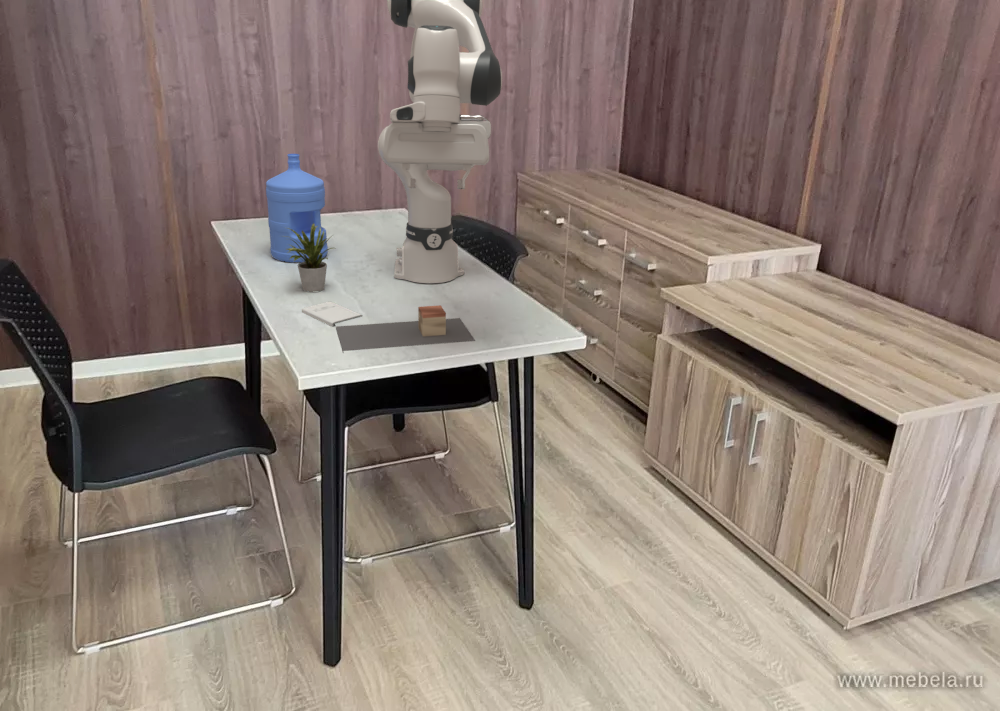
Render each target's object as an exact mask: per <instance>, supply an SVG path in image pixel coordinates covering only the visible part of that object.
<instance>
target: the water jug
mask: <svg viewBox="0 0 1000 711" xmlns="http://www.w3.org/2000/svg"><path fill="white" fill-rule="evenodd" d="M300 163H301V161H300V154H299V153H288V154H287V166H288V167H287V170H285V171H283V172H281V173H279V174H277V175H275V176H273V177H271V178H269V179H268V180H267V181H266V182H265V186H266V188H265V196H266V199H267V200H266V202H267V214H268V216H267V217H268V218H267V221H268V222H267V223H268V229H269V240H270V247H269V249H270V255H271V256H272V258H274V259H275V260H277V261H279V262H284V261H285V263H294V262H300V263H302V262H304V261H305V260H304V259H303V258H301V257H300V258H301V259H300V258H299V259H297V260H295V261H294V258H295V257H294V258H291V259H290V257H291V256H293V255H295V254H296V255H297V256H299V254H298V253H297V252H296V251H290V250H287V249H289V248H293V247H292V246H294V247H295V248H298V249H300V248H301V249H304V248H303V247H304V246H303V245H302V243H301V241H300V240H299V239H298V237H297V236H296V234H295V233H294V232H293V231H292V230H294V231H295V232H296V233H298V234H299V235H300V236H301V237H302V239H303V240H304V238H303V235H302V231H303V232H304V233H305V234H306V236H307V237H308V239H309V241H310V232H311V227H312V224H313V223H314V224H315V227H316V226H317V227H316V229H315V234H314V244H315V245H316V242H317V238H318V233H319V230H320V227H321V235H322V233H323V231H324V236H323V240H324V239H326V240H325V242H326V241H327V240H328V239H327V230H326V228H324V227H323V226H322V222H321V221H322V218H321V216H322V215H321V210H322V209H323V208H324V207H325V206H326V200H325V199H326V198H325V196H326V189H325V188H326V187H325V182H324V180H323V179H322V178H319V177H317V176H315V175H313V174H311V173H308V172H306V171H304V170H302V169H301V166H300ZM284 227H285V228H284ZM288 228H289V229H288ZM290 229H292V230H290ZM321 235H320V238H321ZM285 236H288V237H285ZM300 236H299V237H300ZM290 237H291V238H290ZM290 239H291V240H290ZM292 240H293V241H292ZM296 240H297V241H298V242H299V243H298V242H297V241H296ZM323 240H322V241H323ZM294 241H295V242H296V243H297V244H298V245H299V246H300V248H299V247H298V245H297V244H296V243H295V242H294ZM319 241H320V239H319ZM325 242H324V243H325ZM327 242H328V241H327ZM327 242H326V243H325V245H324V244H323V245H324V246H323V248H322V250H321V252H320V253H323V252H324V251H326V250H327V249H329V248H328V247H329V246H328V243H327ZM318 244H319V243H318ZM290 245H292V246H290ZM302 246H303V247H302ZM304 250H305V249H304ZM289 251H290V252H289ZM328 252H329V250H327V251H326V252H324V253H323V255H322V258H326V256H327V255H328ZM299 253H300V252H299ZM300 254H301V253H300ZM303 254H304V253H303ZM303 254H301V255H302V256H304V255H303ZM305 255H306V254H305ZM306 256H307V255H306ZM318 257H319V256H318ZM304 258H305V257H304ZM307 258H309V257H308V256H307ZM303 260H304V261H303ZM317 260H318V259H317Z"/></svg>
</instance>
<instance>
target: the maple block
mask: <svg viewBox="0 0 1000 711" xmlns="http://www.w3.org/2000/svg"><path fill="white" fill-rule="evenodd" d="M417 308H418V315H417V316H418V320H417V321H418V328H419V330H420V332H421V334H422V336H436V335H446V319H447V313H446V311H445V309H444V308H443V306H442V305H426V306H425V305H423V306H418V307H417Z"/></svg>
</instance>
